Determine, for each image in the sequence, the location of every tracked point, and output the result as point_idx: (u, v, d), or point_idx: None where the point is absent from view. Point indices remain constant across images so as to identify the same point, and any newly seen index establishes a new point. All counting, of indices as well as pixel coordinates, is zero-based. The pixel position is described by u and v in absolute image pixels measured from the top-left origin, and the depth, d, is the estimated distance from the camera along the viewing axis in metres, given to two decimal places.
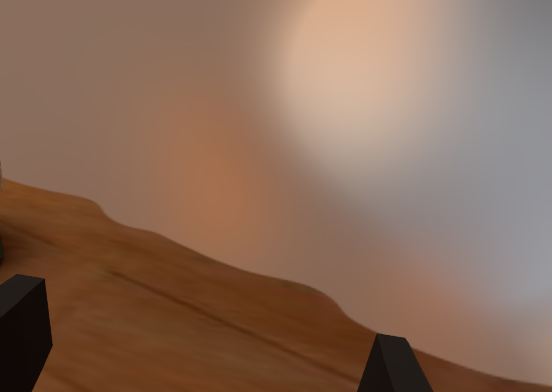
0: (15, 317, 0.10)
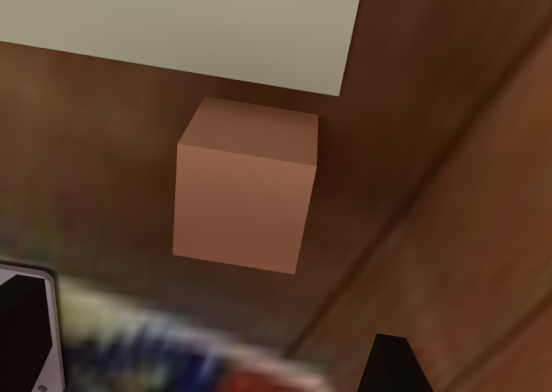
0: (15, 317, 0.10)
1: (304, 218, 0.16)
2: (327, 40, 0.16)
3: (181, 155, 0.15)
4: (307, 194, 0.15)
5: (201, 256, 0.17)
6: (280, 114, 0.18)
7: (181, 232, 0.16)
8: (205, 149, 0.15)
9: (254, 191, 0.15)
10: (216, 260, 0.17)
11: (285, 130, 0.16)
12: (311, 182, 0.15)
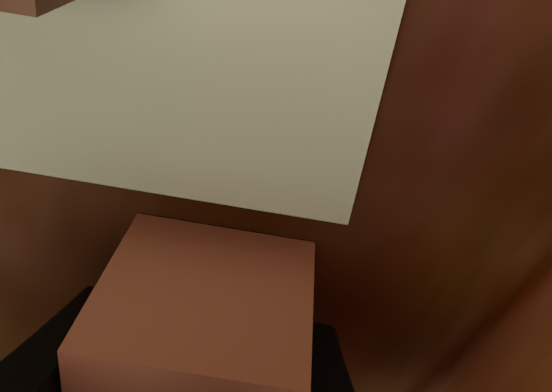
0: None
1: None
2: (329, 142, 0.10)
3: (66, 368, 0.08)
4: None
5: None
6: (254, 249, 0.11)
7: None
8: (107, 361, 0.08)
9: None
10: None
11: (259, 291, 0.10)
12: None
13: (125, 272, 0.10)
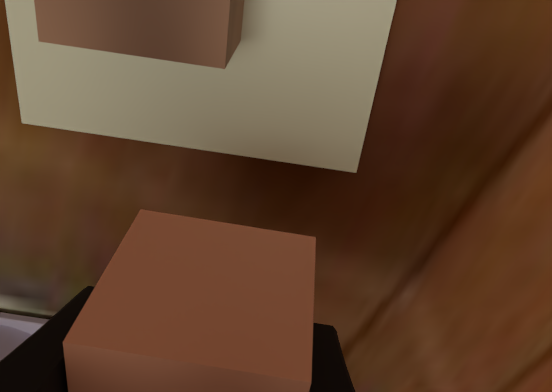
0: None
1: None
2: (345, 125, 0.17)
3: (71, 359, 0.08)
4: None
5: None
6: (255, 244, 0.11)
7: None
8: (112, 351, 0.08)
9: None
10: None
11: (261, 284, 0.10)
12: None
13: (129, 266, 0.10)
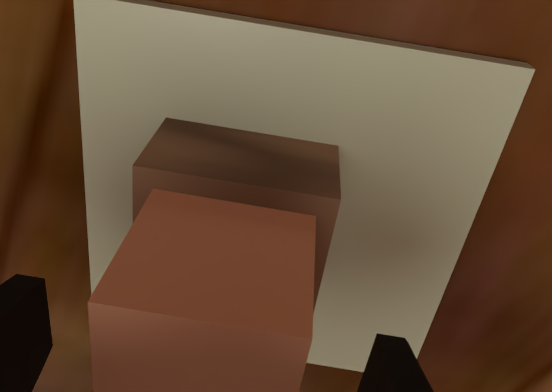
0: (14, 317, 0.10)
1: None
2: None
3: (95, 317, 0.09)
4: (297, 375, 0.10)
5: None
6: (260, 221, 0.12)
7: None
8: (131, 311, 0.09)
9: (212, 369, 0.10)
10: None
11: (266, 256, 0.11)
12: (303, 360, 0.09)
13: (144, 238, 0.11)
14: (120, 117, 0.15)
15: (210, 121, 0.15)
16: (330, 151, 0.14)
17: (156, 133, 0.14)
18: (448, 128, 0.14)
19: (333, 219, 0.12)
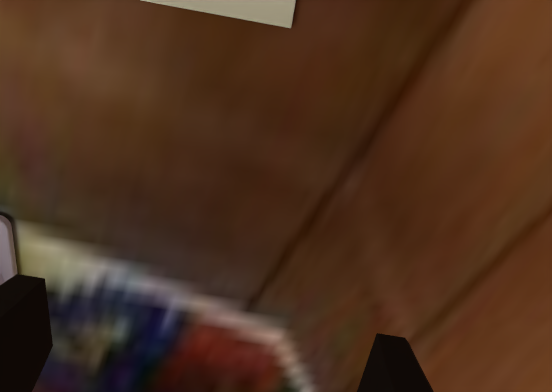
0: (14, 317, 0.10)
1: None
2: None
3: None
4: None
5: None
6: None
7: None
8: None
9: None
10: None
11: None
12: None
13: None
14: None
15: None
16: None
17: None
18: None
19: None
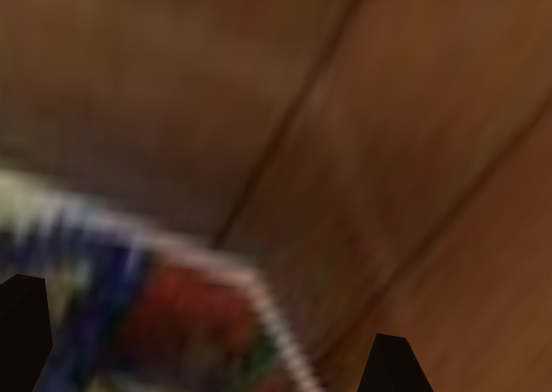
0: (14, 317, 0.10)
1: None
2: None
3: None
4: None
5: None
6: None
7: None
8: None
9: None
10: None
11: None
12: None
13: None
14: None
15: None
16: None
17: None
18: None
19: None
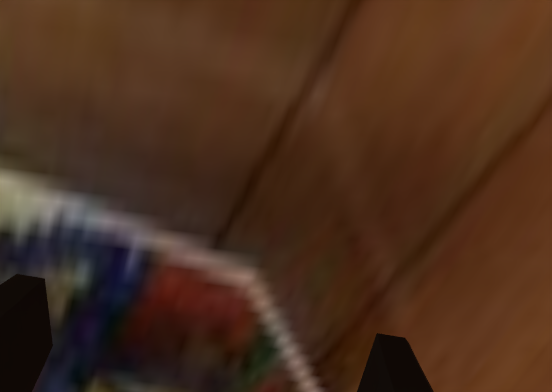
0: (14, 317, 0.10)
1: None
2: None
3: None
4: None
5: None
6: None
7: None
8: None
9: None
10: None
11: None
12: None
13: None
14: None
15: None
16: None
17: None
18: None
19: None
